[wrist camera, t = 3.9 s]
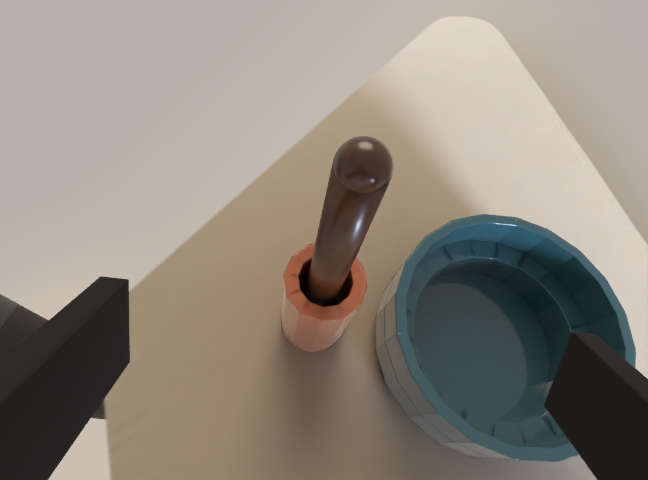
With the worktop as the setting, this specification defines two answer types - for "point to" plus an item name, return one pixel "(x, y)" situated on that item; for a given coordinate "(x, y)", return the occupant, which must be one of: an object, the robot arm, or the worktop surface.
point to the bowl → (491, 334)
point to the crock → (311, 319)
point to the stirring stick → (347, 214)
